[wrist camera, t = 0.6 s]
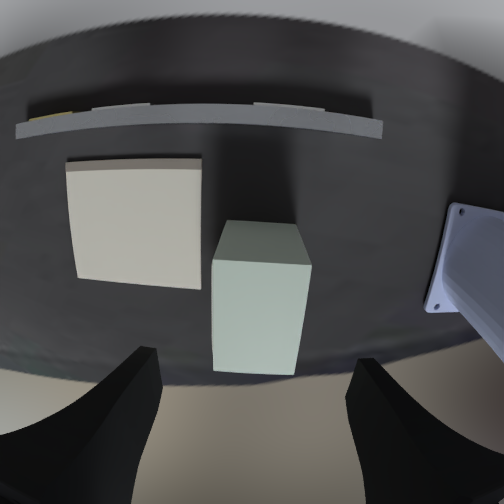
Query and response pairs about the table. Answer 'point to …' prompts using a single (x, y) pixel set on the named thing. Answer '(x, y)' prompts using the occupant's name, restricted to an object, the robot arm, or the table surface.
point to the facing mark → (137, 220)
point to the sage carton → (258, 297)
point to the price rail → (203, 118)
